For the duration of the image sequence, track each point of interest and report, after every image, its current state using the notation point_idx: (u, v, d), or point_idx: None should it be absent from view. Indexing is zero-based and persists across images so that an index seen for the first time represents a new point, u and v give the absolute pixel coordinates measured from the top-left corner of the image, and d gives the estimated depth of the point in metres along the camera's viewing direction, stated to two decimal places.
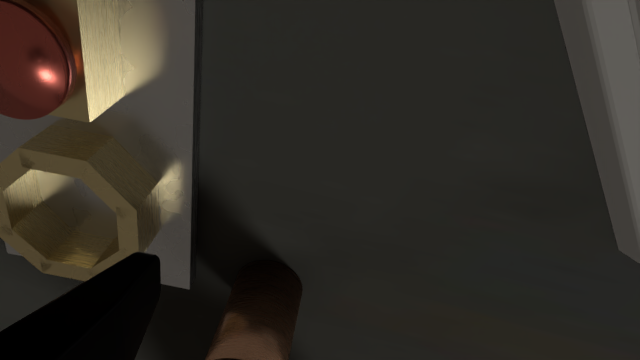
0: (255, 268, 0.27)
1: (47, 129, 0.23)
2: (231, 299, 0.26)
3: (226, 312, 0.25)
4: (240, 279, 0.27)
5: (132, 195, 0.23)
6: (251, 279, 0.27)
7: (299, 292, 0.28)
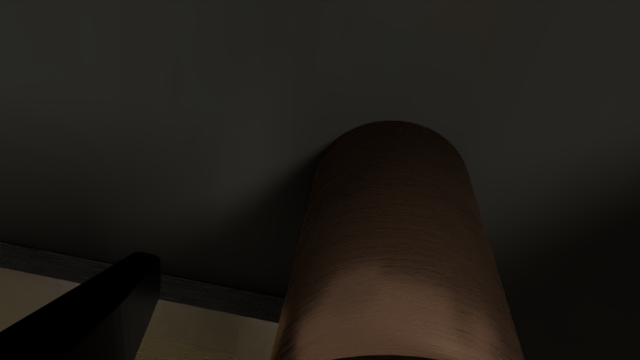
0: None
1: None
2: None
3: None
4: None
5: None
6: None
7: (376, 135, 0.11)
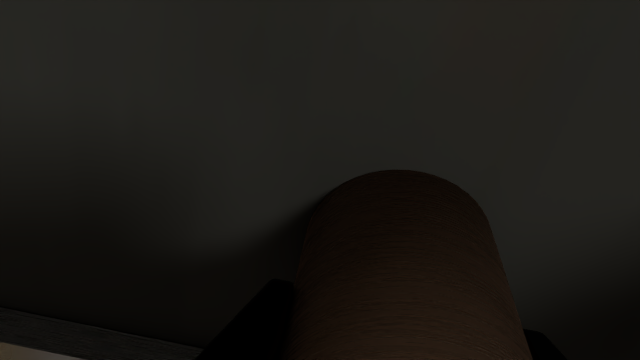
0: None
1: None
2: None
3: None
4: None
5: None
6: None
7: (382, 191, 0.09)
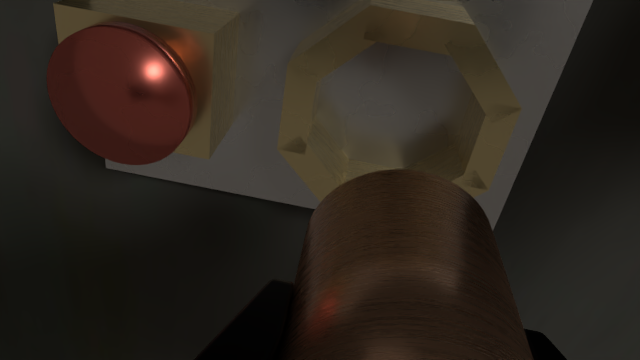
0: None
1: None
2: None
3: None
4: None
5: (354, 13, 0.15)
6: None
7: (382, 191, 0.09)
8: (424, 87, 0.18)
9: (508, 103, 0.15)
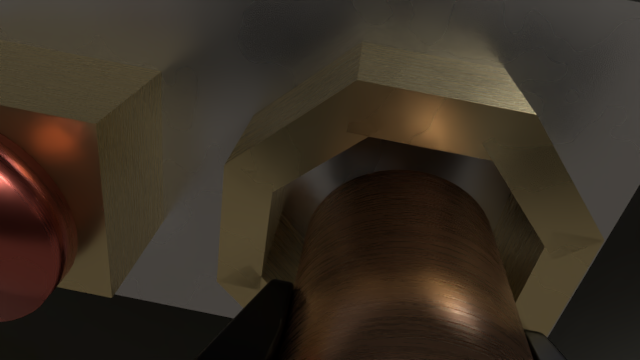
0: None
1: None
2: None
3: None
4: None
5: (331, 87, 0.09)
6: None
7: (382, 191, 0.09)
8: None
9: (583, 232, 0.09)
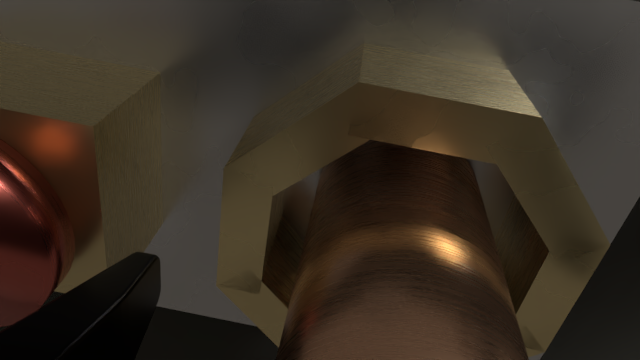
0: None
1: None
2: None
3: None
4: None
5: (332, 89, 0.09)
6: None
7: (381, 145, 0.10)
8: None
9: (589, 236, 0.09)
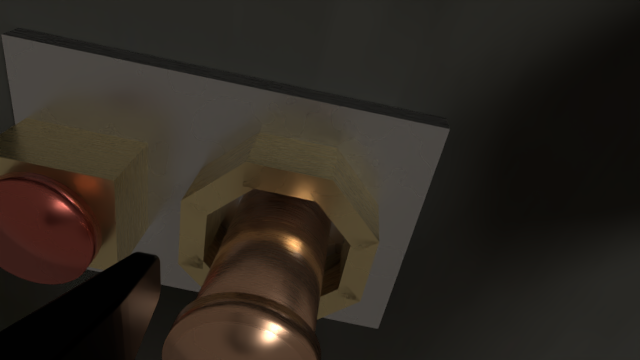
0: None
1: None
2: None
3: None
4: None
5: (235, 162, 0.17)
6: None
7: None
8: None
9: (368, 237, 0.18)
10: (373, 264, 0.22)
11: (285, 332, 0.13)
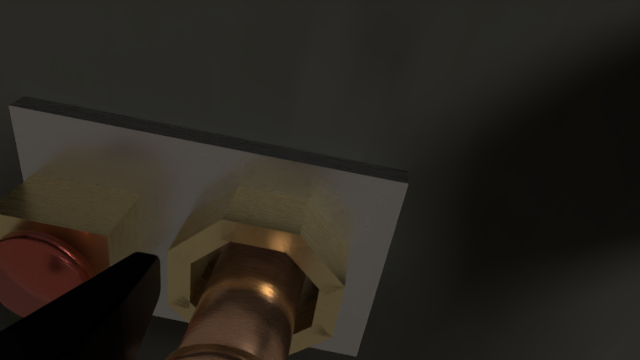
0: None
1: None
2: None
3: None
4: None
5: (214, 218, 0.19)
6: None
7: None
8: None
9: (334, 283, 0.20)
10: (348, 300, 0.24)
11: None
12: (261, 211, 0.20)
